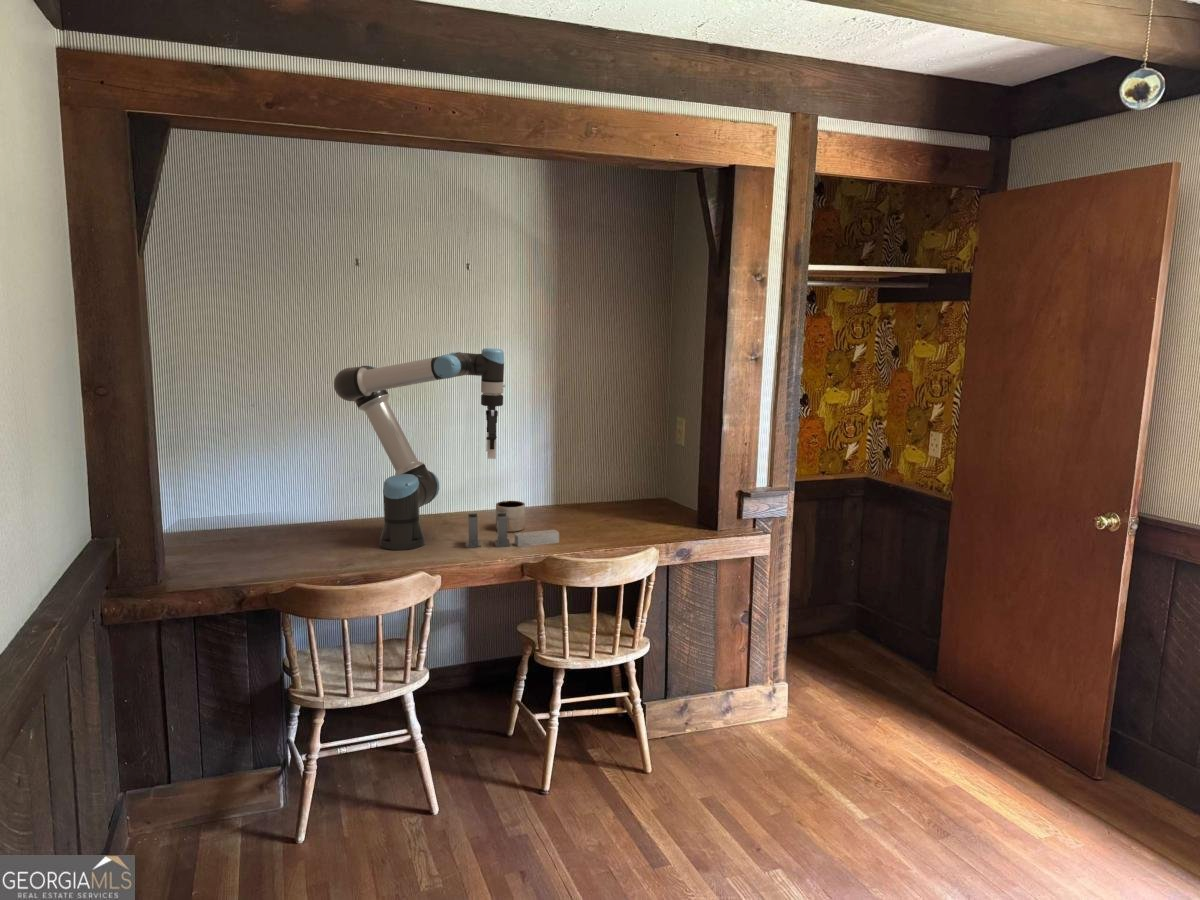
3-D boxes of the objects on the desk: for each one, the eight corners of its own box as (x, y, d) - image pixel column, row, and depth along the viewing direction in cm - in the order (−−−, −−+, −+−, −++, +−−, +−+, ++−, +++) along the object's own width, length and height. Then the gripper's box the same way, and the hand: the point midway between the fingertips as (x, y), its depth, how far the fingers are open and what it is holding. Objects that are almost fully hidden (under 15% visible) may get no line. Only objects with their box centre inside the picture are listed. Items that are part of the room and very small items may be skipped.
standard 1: (465, 548, 270) (465, 518, 268) (465, 542, 276) (465, 513, 275) (480, 547, 271) (480, 518, 269) (480, 542, 277) (480, 513, 275)
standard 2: (495, 547, 271) (495, 517, 270) (494, 541, 278) (494, 512, 276) (510, 546, 272) (510, 517, 271) (509, 541, 279) (508, 512, 277)
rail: (517, 547, 273) (517, 536, 272) (514, 544, 276) (514, 533, 276) (559, 543, 278) (559, 532, 278) (555, 540, 282) (555, 529, 281)
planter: (527, 525, 300) (527, 501, 299) (521, 533, 289) (521, 507, 288) (499, 524, 301) (499, 500, 300) (492, 532, 290) (492, 506, 289)
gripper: (505, 398, 260) (503, 461, 264) (501, 390, 285) (499, 448, 288) (482, 397, 259) (480, 461, 263) (480, 389, 283) (479, 448, 287)
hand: (490, 454), depth 275 cm, fingers open, 13 cm apart
